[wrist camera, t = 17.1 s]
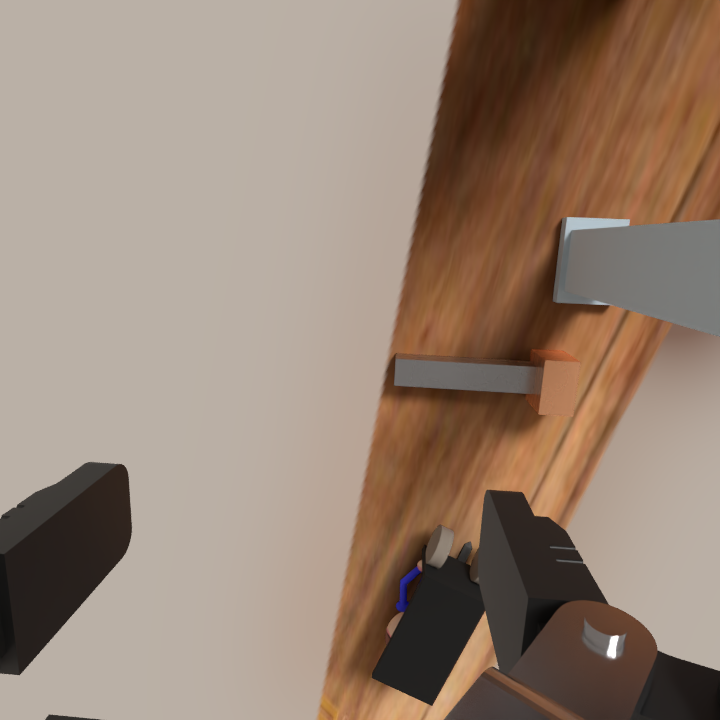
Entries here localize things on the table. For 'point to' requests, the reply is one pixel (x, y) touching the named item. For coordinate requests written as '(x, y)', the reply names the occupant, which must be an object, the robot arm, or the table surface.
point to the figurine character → (432, 620)
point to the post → (643, 269)
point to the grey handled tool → (499, 377)
